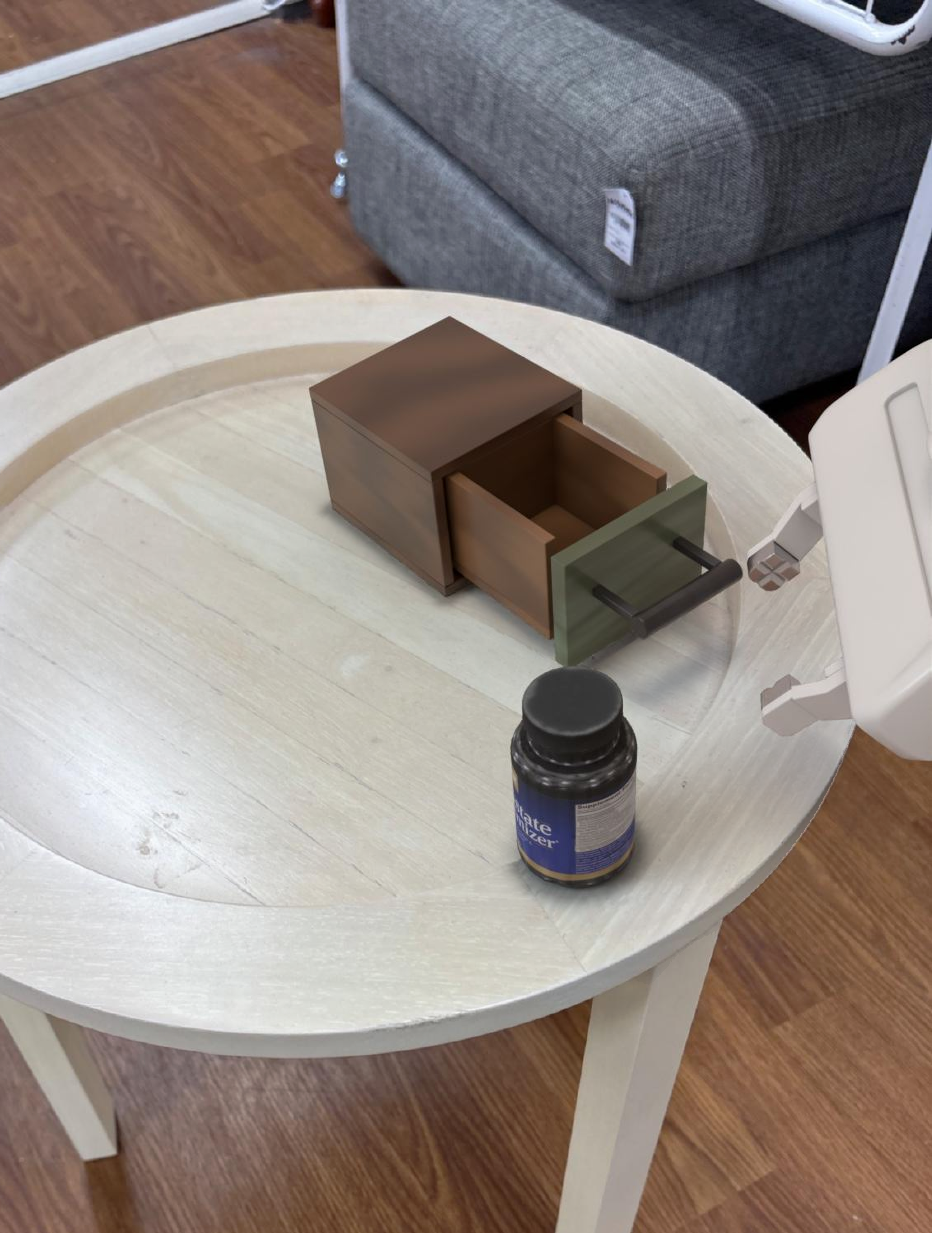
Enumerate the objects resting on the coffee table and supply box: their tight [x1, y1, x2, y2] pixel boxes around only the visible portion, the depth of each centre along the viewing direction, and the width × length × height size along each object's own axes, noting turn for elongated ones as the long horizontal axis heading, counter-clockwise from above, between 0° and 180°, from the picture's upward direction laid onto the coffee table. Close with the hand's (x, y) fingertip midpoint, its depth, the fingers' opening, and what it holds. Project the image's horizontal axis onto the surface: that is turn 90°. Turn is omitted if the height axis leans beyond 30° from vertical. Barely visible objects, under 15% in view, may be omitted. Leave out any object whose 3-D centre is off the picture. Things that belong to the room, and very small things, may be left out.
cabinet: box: [308, 315, 584, 597], centre depth 86 cm, size 14×12×10 cm
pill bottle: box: [509, 665, 638, 889], centre depth 65 cm, size 6×6×11 cm
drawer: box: [442, 412, 744, 667], centre depth 77 cm, size 17×10×8 cm, turn 33°
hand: (762, 643), depth 58 cm, fingers open, 8 cm apart
